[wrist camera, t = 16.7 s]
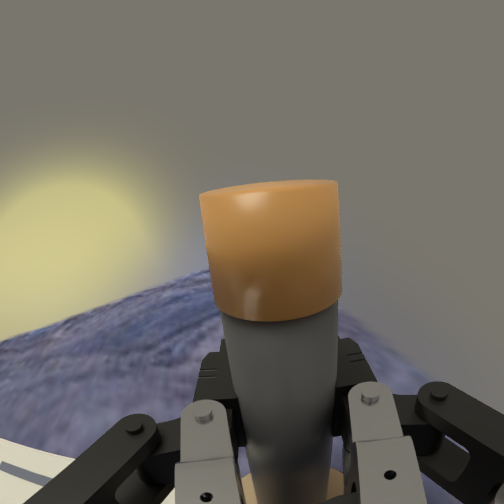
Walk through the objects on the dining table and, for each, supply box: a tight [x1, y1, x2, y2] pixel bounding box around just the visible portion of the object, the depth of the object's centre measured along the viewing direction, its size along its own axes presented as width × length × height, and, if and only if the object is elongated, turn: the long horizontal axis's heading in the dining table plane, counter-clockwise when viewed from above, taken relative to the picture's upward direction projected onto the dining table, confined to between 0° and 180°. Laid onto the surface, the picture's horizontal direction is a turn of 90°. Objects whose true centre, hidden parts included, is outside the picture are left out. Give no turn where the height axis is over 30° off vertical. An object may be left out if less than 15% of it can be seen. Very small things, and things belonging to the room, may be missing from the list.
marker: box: [199, 180, 342, 504], centre depth 9 cm, size 3×3×14 cm
